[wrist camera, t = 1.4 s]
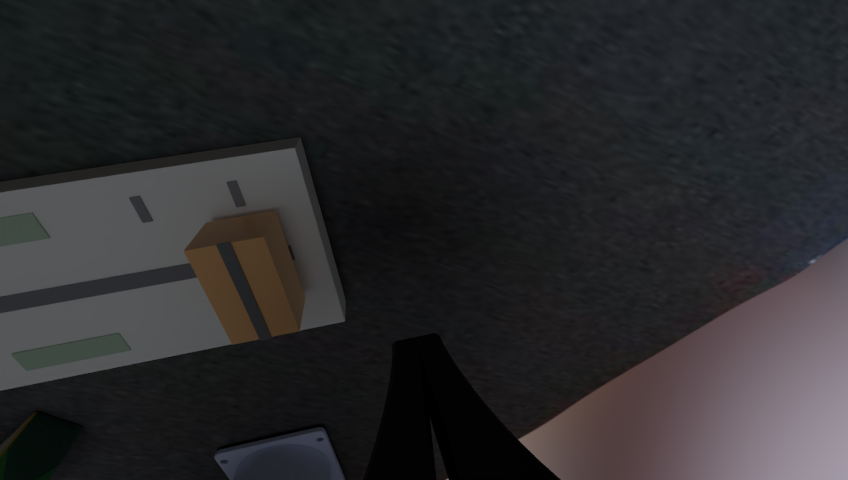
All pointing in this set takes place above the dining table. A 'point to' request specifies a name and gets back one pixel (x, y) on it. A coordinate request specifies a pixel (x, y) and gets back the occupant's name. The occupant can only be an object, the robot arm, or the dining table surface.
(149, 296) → the fader console
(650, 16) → the dining table surface
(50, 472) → the crayon box
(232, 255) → the fader knob
